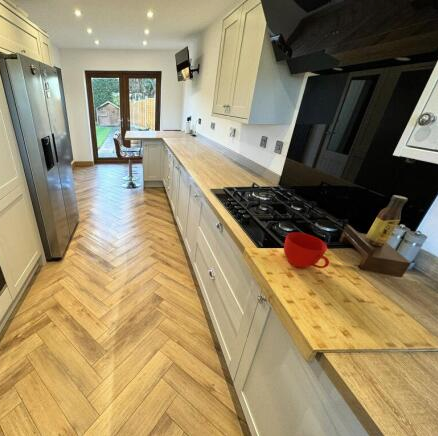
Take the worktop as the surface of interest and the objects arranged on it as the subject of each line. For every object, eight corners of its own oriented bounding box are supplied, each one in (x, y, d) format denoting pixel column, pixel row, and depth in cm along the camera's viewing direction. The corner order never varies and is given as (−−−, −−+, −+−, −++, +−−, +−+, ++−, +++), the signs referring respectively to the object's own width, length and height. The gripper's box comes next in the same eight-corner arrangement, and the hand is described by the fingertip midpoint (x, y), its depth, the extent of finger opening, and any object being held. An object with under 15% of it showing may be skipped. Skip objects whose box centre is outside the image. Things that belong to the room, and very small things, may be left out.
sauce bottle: (377, 248, 91) (404, 200, 82) (360, 240, 96) (384, 194, 87) (388, 246, 93) (416, 199, 84) (371, 238, 98) (395, 193, 89)
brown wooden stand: (371, 248, 103) (382, 229, 99) (401, 277, 86) (416, 256, 82) (337, 243, 106) (346, 224, 102) (360, 270, 89) (372, 249, 85)
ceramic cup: (304, 283, 81) (314, 259, 76) (271, 254, 95) (279, 233, 91) (335, 279, 83) (347, 256, 79) (298, 252, 98) (307, 231, 93)
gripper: (432, 109, 74) (404, 163, 82) (502, 112, 71) (466, 168, 78) (414, 109, 81) (390, 159, 88) (478, 112, 77) (446, 164, 85)
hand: (425, 163), depth 83 cm, fingers open, 9 cm apart
